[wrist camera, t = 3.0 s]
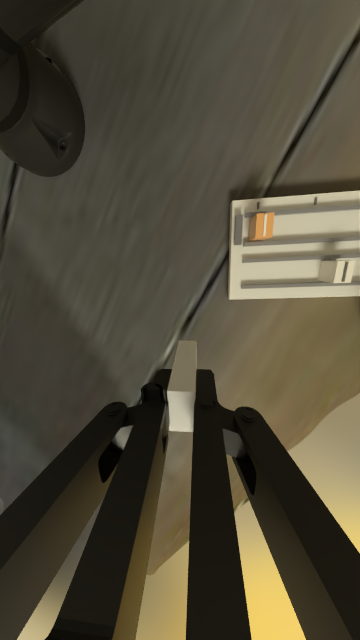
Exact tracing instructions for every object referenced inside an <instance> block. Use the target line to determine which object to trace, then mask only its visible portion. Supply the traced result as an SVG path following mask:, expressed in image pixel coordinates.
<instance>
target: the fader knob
mask: <svg viewBox="0 0 360 640" xmlns="http://www.w3.org/2000/svg"><path fill="white" fill-rule="evenodd" d="M274 213H275V212H273V213H259V214H256V215H255V216H253V217H252V218H251V219H250V222H249V239H248V241H254V240H265V239H268V238H271V237H272V235H273V224H274Z"/></svg>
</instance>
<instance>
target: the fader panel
mask: <svg viewBox="0 0 360 640" xmlns="http://www.w3.org/2000/svg"><path fill="white" fill-rule="evenodd" d="M273 212H275V213H274V224H273V235H272V237H271V238H268V239H265V240H254V241H248V239H249V222H250V219H251V218H252V217H253V216H255V215H256V214H259V213H273ZM342 296H360V190H359V191H347V192H334V193H322V194H310V195H297V196H285V197H272V198H260V199H248V200H235V201H232V203H231V205H230V239H229V273H228V298H229V299H267V298H305V297H342Z"/></svg>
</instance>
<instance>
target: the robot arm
mask: <svg viewBox="0 0 360 640" xmlns="http://www.w3.org/2000/svg"><path fill="white" fill-rule="evenodd" d="M82 1H84V0H0V149H1V150H2V151H3V152H4V153H5V154H6V155H7V156H8V157H9V158H10V159H11V160H12V161H13V162H15V163H16V164H18V165H19V166H21V167H23V168H25V169H26V170H28V171H30V172H32V173H34V174H37V175H40V176H45V177H52V176H57V175H60V174H62V173H64V172H66V171H67V170H68V169H69V168H71V167H72V165H73V164H74V163H75V162H76V160H77V158H78V157H79V154H80V152H81V149H82V146H83V141H84V133H85V124H84V115H83V110H82V106H81V103H80V100H79V98H78V95H77V93H76V91H75V89H74V87H73V86H72V84H71V83H70V81H69V80H68V78H67V77H66V76H65V74H64V73H63V71H62V70H61V69H60V67H59V66H58V65H57V64H56V63H55V62H54V61H53V60H52V59H51V58H50V57H49V56H48V55H47V54H46V53H44V52H43V51H42V50H40V49H39V48H37V47H35V46H34V45H33V44H32V43H31V41H32V40H33V39H34V38H36V37H37V36H38V35H40V34H41V33H42V32H43V31H45V30H46V29H47V28H49V27H50V26H51V25H53V24H54V23H55V22H56V21H58V20H59V19H60V18H62V17H63V16H64V15H65V14H67V13H68V12H69V11H71V10H72V9H73V8H75V7H76V6H77V5H78V4H80V3H81V2H82ZM87 1H89V0H87ZM141 395H142V404H140V405H137V406H133V407H129V408H127V406H126V404H125V403H123V402H113V403H111V404H108V405H107V406H106V407H104V408H103V409H102V410H101V411H100V412H99V413H98V414H97V415H96V416H95V417H94V419H93V420H92V421H91V422H90V423H89V424H88V425H87V426H86V427H85V428H84V429H83V430H82V431H81V432H80V433H79V434H78V435H77V436H76V437H75V438H74V439H73V440H72V441H71V442H70V443H69V444H68V446H67V447H66V448H65V449H64V450H63V451H62V452H61V453H60V454H59V455H58V456H57V457H56V458H55V459H54V460H53V461H52V462H51V463H50V464H49V465H48V466H47V467H46V468H45V469H44V470H43V471H42V472H41V474H40V475H39V476H38V477H37V478H36V479H35V480H34V481H33V482H32V483H31V484H30V485H29V486H28V487H27V488H26V489H25V490H24V491H23V492H22V493H21V494H20V495H19V496H18V497H17V498H16V499H15V501H14V502H13V503H12V504H11V505H10V506H9V507H8V508H7V509H6V510H5V511H4V512H3V513H2V514H1V515H0V640H17V638H18V636H19V635H20V633H21V631H22V630H23V628H24V627H25V624H26V623H27V622H28V620H29V618H30V617H31V615H32V613H33V611H34V610H35V608H36V607H37V605H38V603H39V602H40V600H41V598H42V597H43V595H44V594H45V592H46V590H47V588H48V587H49V585H50V584H51V582H52V580H53V579H54V577H55V575H56V574H57V572H58V570H59V569H60V567H61V566H62V564H63V562H64V561H65V559H66V557H67V556H68V554H69V552H70V550H71V549H72V547H73V546H74V544H75V542H76V541H77V539H78V538H79V536H80V534H81V533H82V531H83V529H84V528H85V526H86V524H87V523H88V521H89V519H90V518H91V516H92V514H93V513H94V511H95V510H96V508H97V506H98V505H99V503H100V501H101V500H102V498H103V496H104V495H105V493H106V491H107V493H106V495H105V498H104V500H103V503H102V505H101V508H100V510H99V513H98V515H97V518H96V520H95V523H94V526H93V528H92V531H91V533H90V536H89V538H88V541H87V543H86V546H85V549H84V551H83V554H82V556H81V559H80V561H79V564H78V566H77V569H76V571H75V574H74V577H73V579H72V581H71V584H70V586H69V589H68V592H67V594H66V597H65V599H64V602H63V604H62V607H61V609H60V612H59V614H58V617H57V619H56V622H55V624H54V626H53V628H52V630H51V632H50V634H49V635H48V637H47V638H46V639H45V640H135V638H136V632H137V626H138V620H139V614H140V607H141V602H142V596H143V590H144V584H145V577H146V572H147V566H148V560H149V553H150V547H151V541H152V535H153V529H154V523H155V517H156V511H157V505H158V499H159V493H160V487H161V481H162V475H163V469H164V463H165V457H166V451H167V445H168V429H169V430H170V431H183V432H193V452H192V480H191V509H190V537H189V566H188V595H187V622H186V640H251V633H250V625H249V618H248V611H247V603H246V596H245V589H244V581H243V575H242V567H241V560H240V553H239V545H238V538H237V531H236V524H235V516H234V509H233V501H232V494H231V487H230V480H229V472H228V465H227V458H226V454H228V455H231V456H232V459H233V461H234V464H235V466H236V469H237V471H238V474H239V476H240V478H241V481H242V483H243V486H244V488H245V491H246V493H247V496H248V498H249V500H250V503H251V505H252V508H253V510H254V513H255V515H256V518H257V520H258V522H259V525H260V527H261V530H262V532H263V535H264V537H265V540H266V542H267V544H268V547H269V549H270V552H271V554H272V557H273V559H274V561H275V564H276V566H277V569H278V571H279V574H280V576H281V579H282V581H283V584H284V586H285V588H286V591H287V593H288V596H289V598H290V601H291V603H292V606H293V608H294V611H295V613H296V615H297V618H298V620H299V623H300V625H301V628H302V630H303V632H304V635H305V638H306V640H360V553H359V552H358V551H357V549H356V548H355V546H354V545H353V544H352V542H351V541H350V540H349V538H348V536H347V535H346V534H345V532H344V531H343V529H342V528H341V527H340V525H339V524H338V522H337V521H336V520H335V518H334V517H333V515H332V514H331V513H330V511H329V510H328V508H327V507H326V506H325V504H324V503H323V501H322V500H321V499H320V497H319V496H318V494H317V493H316V491H315V490H314V489H313V487H312V486H311V484H310V483H309V482H308V480H307V479H306V477H305V476H304V475H303V474H302V472H301V470H300V469H299V468H298V466H297V465H296V463H295V462H294V461H293V459H292V458H291V456H290V455H289V454H288V452H287V451H286V449H285V448H284V446H283V445H282V444H281V442H280V441H279V439H278V438H277V437H276V435H275V434H274V432H273V431H272V430H271V428H270V427H269V425H268V424H267V423H266V421H265V420H264V418H263V417H262V416H261V414H260V413H259V412H258V411H256V410H255V409H253V408H250V407H239V408H237V409H236V410H235V411H231V410H228V409H226V408H224V407H222V406H221V405H220V404H219V402H218V400H217V395H216V387H215V380H214V374H213V372H212V371H211V370H203V369H197V341H179V344H178V348H177V352H176V356H175V360H174V364H173V368H172V369H161V370H160V371H158V372H157V374H156V377H155V379H154V382H151V383H148V384H146V385H144V386H143V387H142V388H141Z"/></svg>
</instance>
